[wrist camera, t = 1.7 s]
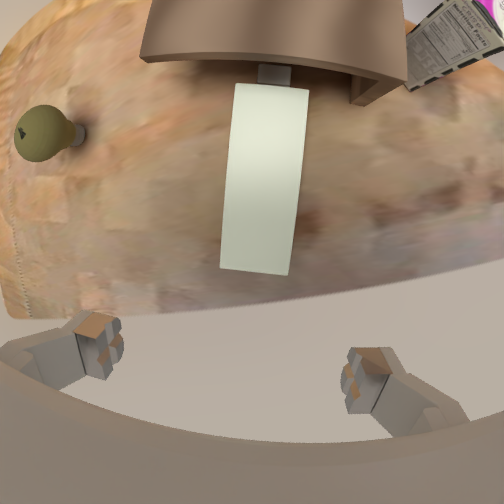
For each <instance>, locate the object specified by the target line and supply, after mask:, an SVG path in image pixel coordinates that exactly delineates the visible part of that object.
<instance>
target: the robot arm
mask: <svg viewBox="0 0 504 504" xmlns="http://www.w3.org/2000/svg"><path fill="white" fill-rule="evenodd" d="M120 330H121V322H120V320H119V319H118V318H117V317H113V316H109V315H105V314H101V313H98V312H94V311H90V310H81V311H80V312H79V313H78V314H77V315H76V316H75V317H73V318H72V319H71V320H70V321H69V322H68V323H67V324H65V325H64V326H63V327H62V328H61V329H60V328H55V329H51V330H48V331H44V332H41V333H37V334H33V335H30V336H26V337H22V338H19V339H15V340H11V341H8V342H7V343H6V344H4V345H3V346H2V347H1V348H0V504H504V411H502V412H499V413H496V414H493V415H490V416H487V417H484V418H481V419H477V420H474V421H471V422H470V420H469V419H468V417H467V416H466V414H465V412H464V411H463V409H462V407H461V406H460V404H459V403H458V402H457V401H456V400H454V399H452V398H450V397H449V396H447V395H446V394H444V393H442V392H440V391H439V390H437V389H435V388H434V387H432V386H431V385H429V384H427V383H425V382H424V381H422V380H421V379H419V378H417V377H415V376H414V375H412V374H410V373H409V374H407V373H406V371H405V370H404V368H403V366H402V364H401V363H400V361H399V359H398V357H397V356H396V354H395V353H394V351H393V349H392V348H390V347H378V348H351V349H350V350H349V353H348V356H347V358H348V361H349V363H348V364H347V365H345V366H344V368H343V371H342V374H341V389H342V392H343V393H344V394H346V395H347V396H346V398H345V403H346V408H347V411H348V414H370V413H371V415H372V416H373V417H374V418H375V419H376V420H377V421H378V422H379V423H380V424H381V425H382V426H383V427H384V428H385V429H386V430H387V431H388V432H389V433H390V434H391V435H392V436H393V437H394V438H387V439H378V440H369V441H358V442H341V443H284V442H268V441H267V442H266V441H255V440H244V439H236V438H228V437H221V436H214V435H207V434H202V433H196V432H191V431H186V430H181V429H176V428H171V427H166V426H163V425H158V424H154V423H151V422H147V421H143V420H139V419H136V418H132V417H129V416H126V415H122V414H119V413H116V412H113V411H110V410H107V409H104V408H101V407H98V406H95V405H93V404H90V403H87V402H84V401H82V400H80V399H77V398H74V397H72V396H70V395H67V394H65V393H62V392H60V391H59V390H60V389H62V388H64V387H66V386H68V385H70V384H71V383H73V382H75V381H77V380H79V379H81V378H83V377H85V376H86V375H88V376H92V377H95V378H98V379H102V380H106V379H107V378H108V376H109V375H110V373H111V372H112V371H113V366H112V365H113V364H115V363H118V362H119V360H120V359H121V357H122V354H123V351H124V342H123V338H122V337H121V335H120V334H119V331H120Z"/></svg>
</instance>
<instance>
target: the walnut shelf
mask: <svg viewBox="0 0 504 504" xmlns="http://www.w3.org/2000/svg"><path fill="white" fill-rule="evenodd" d="M139 57H140V58H141V59H142V60H144V61H145V62H147V63H155V62H166V61H180V60H209V59H224V60H253V61H267V62H278V63H288V64H296V65H304V66H311V67H317V68H323V69H329V70H334V71H339V72H344V73H349V74H351V95H350V104H355V105H359V106H364V107H365V106H366V105H368V104H370V103H371V102H373V101H375V100H376V99H378V98H380V97H381V96H383V95H385V94H386V93H388V92H390V91H392V90H393V89H395V88H397V87H398V86H400V85H402V84H404V83H406V82H407V49H406V33H405V22H404V12H403V4H402V0H153V1H152V4H151V8H150V12H149V16H148V20H147V24H146V28H145V32H144V36H143V41H142V46H141V50H140V55H139ZM290 78H291V67H288V66H279V65H268V64H259V68H258V77H257V84H259V85H271V86H281V87H290Z"/></svg>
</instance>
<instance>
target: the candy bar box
mask: <svg viewBox="0 0 504 504" xmlns="http://www.w3.org/2000/svg"><path fill="white" fill-rule="evenodd" d="M406 49H407V82H406V83H404V85H405V86H406V87H407V88H408V90H409V91H410V92H412V91H414V90H416V89H418V88H420V87H422V86H424V85H426V84H428V83H431V82H433V81H435V80H437V79H439V78H441V77H443V76H445V75H447V74H450V73H452V72H454V71H456V70H459V69H461V68H463V67H465V66H468V65H470V64H472V63H475V62H477V61H479V60H481V59H484V58H486V57H488V56H490V55H493V54H496V53H499V52H501V51H503V50H504V0H445V1H444V2H443V3H441V4H440V5H439V6H437V8H435V9H434V10H433V11H432V12H431V13H430V14H429V15H428V16H427V17H426V18H424V19H423V20H422V21H421V22H420V23H419V24H418V25H417V26H416V27H415V28H414V29H413V30H412V31H411V32H410V33H408V34H407V35H406Z"/></svg>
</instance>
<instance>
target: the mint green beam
mask: <svg viewBox="0 0 504 504" xmlns="http://www.w3.org/2000/svg"><path fill="white" fill-rule="evenodd" d="M308 97H309V90H305V89H298V88H290V87H281V86H271V85H259V84H244V83H236V85H235V94H234V103H233V112H232V122H231V132H230V142H229V153H228V164H227V175H226V187H225V199H224V212H223V225H222V239H221V254H220V268H224V269H232V270H241V271H250V272H258V273H267V274H276V275H286V276H288V271H289V264H290V257H291V250H292V243H293V235H294V228H295V220H296V212H297V204H298V196H299V187H300V179H301V170H302V161H303V151H304V141H305V131H306V120H307V109H308Z"/></svg>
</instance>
